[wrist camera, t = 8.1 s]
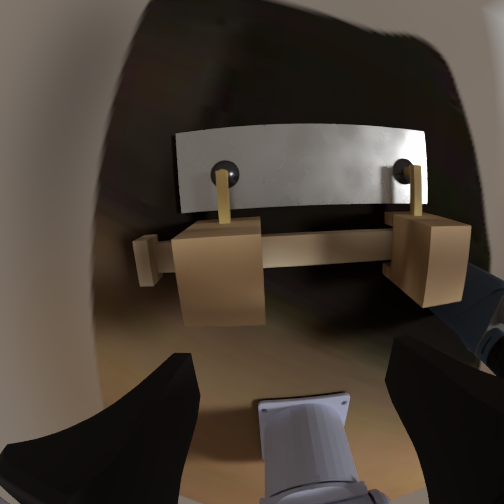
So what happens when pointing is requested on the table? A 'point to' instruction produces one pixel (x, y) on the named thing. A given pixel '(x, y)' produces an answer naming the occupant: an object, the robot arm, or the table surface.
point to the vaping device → (479, 317)
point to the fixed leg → (427, 251)
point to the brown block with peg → (220, 268)
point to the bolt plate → (298, 165)
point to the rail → (278, 250)
